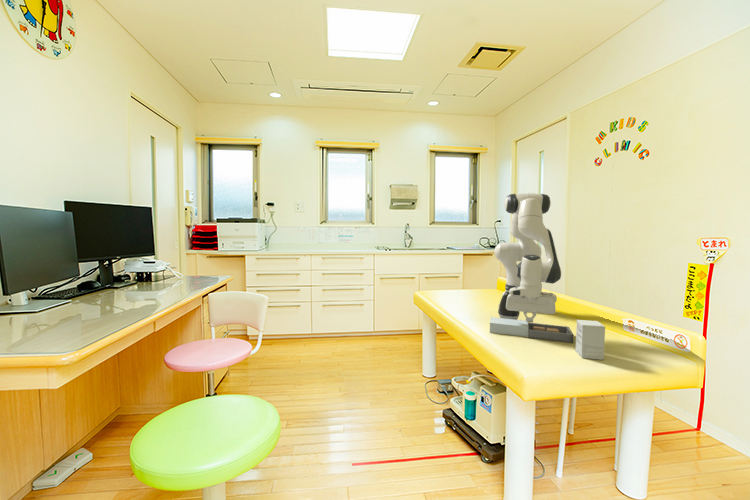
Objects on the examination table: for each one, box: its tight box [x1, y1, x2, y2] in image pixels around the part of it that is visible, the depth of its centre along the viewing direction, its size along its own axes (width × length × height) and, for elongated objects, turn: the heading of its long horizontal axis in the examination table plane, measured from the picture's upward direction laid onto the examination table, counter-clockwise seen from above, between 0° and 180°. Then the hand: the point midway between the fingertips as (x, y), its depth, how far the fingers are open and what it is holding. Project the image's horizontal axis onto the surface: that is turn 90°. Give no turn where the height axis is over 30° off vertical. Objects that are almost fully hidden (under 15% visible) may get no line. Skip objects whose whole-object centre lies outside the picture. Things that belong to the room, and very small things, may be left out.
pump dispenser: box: [497, 290, 521, 320], centre depth 168 cm, size 10×10×15 cm
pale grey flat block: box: [489, 316, 529, 338], centre depth 151 cm, size 10×16×4 cm, turn 68°
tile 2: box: [546, 328, 559, 332], centre depth 144 cm, size 4×4×2 cm
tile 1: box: [533, 326, 546, 331], centre depth 146 cm, size 4×4×2 cm
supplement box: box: [575, 319, 606, 361], centre depth 123 cm, size 7×7×13 cm
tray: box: [527, 322, 574, 344], centre depth 145 cm, size 12×17×4 cm
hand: (529, 321), depth 148 cm, fingers closed
